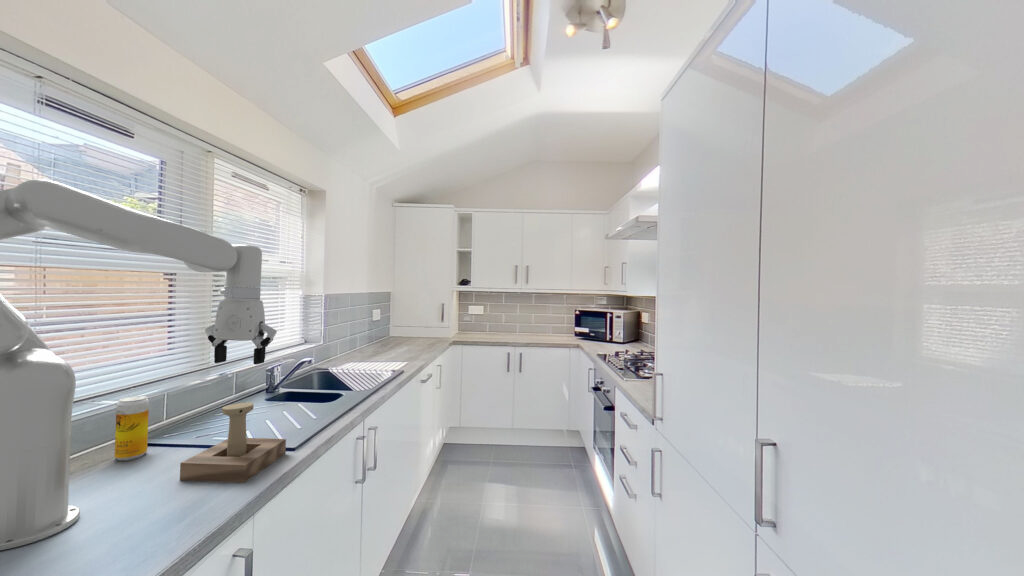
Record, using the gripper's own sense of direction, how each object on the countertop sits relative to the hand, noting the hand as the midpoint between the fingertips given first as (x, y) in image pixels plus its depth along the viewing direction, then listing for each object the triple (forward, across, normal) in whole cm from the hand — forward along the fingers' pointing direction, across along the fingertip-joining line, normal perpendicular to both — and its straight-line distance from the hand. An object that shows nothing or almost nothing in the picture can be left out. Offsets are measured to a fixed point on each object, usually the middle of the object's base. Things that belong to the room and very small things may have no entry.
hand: (239, 362), depth 98 cm
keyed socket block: (+26, 0, 0) cm, 26 cm away
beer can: (+26, -30, +4) cm, 40 cm away
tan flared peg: (+26, 0, 0) cm, 26 cm away
